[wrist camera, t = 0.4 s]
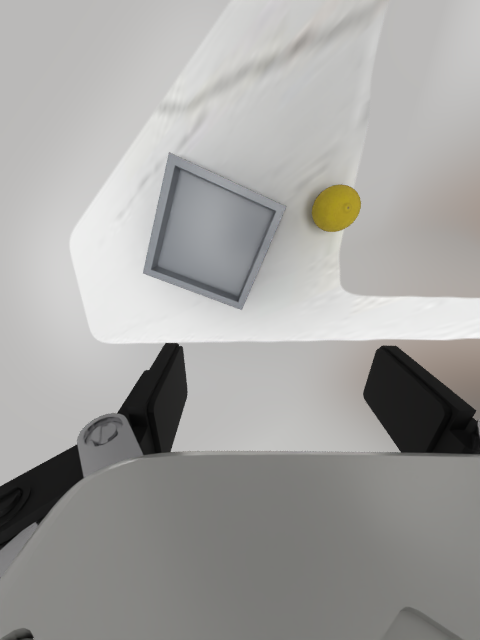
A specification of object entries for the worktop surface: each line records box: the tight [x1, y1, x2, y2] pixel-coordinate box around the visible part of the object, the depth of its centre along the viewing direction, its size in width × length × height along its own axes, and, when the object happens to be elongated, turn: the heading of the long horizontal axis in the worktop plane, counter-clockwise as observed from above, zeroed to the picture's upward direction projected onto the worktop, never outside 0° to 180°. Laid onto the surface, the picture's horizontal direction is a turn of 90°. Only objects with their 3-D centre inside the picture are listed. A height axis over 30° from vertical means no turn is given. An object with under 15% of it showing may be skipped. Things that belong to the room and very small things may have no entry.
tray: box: [143, 152, 286, 310], centre depth 33 cm, size 16×16×4 cm
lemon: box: [312, 185, 361, 232], centre depth 29 cm, size 6×6×8 cm
